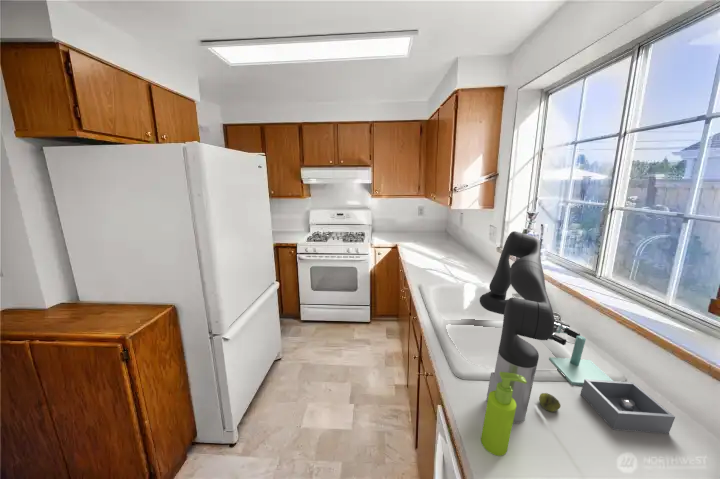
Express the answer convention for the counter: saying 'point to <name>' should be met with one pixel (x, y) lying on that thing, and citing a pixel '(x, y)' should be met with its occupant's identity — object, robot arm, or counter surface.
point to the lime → (549, 402)
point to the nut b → (627, 404)
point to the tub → (607, 401)
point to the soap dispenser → (500, 415)
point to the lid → (578, 366)
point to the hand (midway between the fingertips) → (572, 339)
